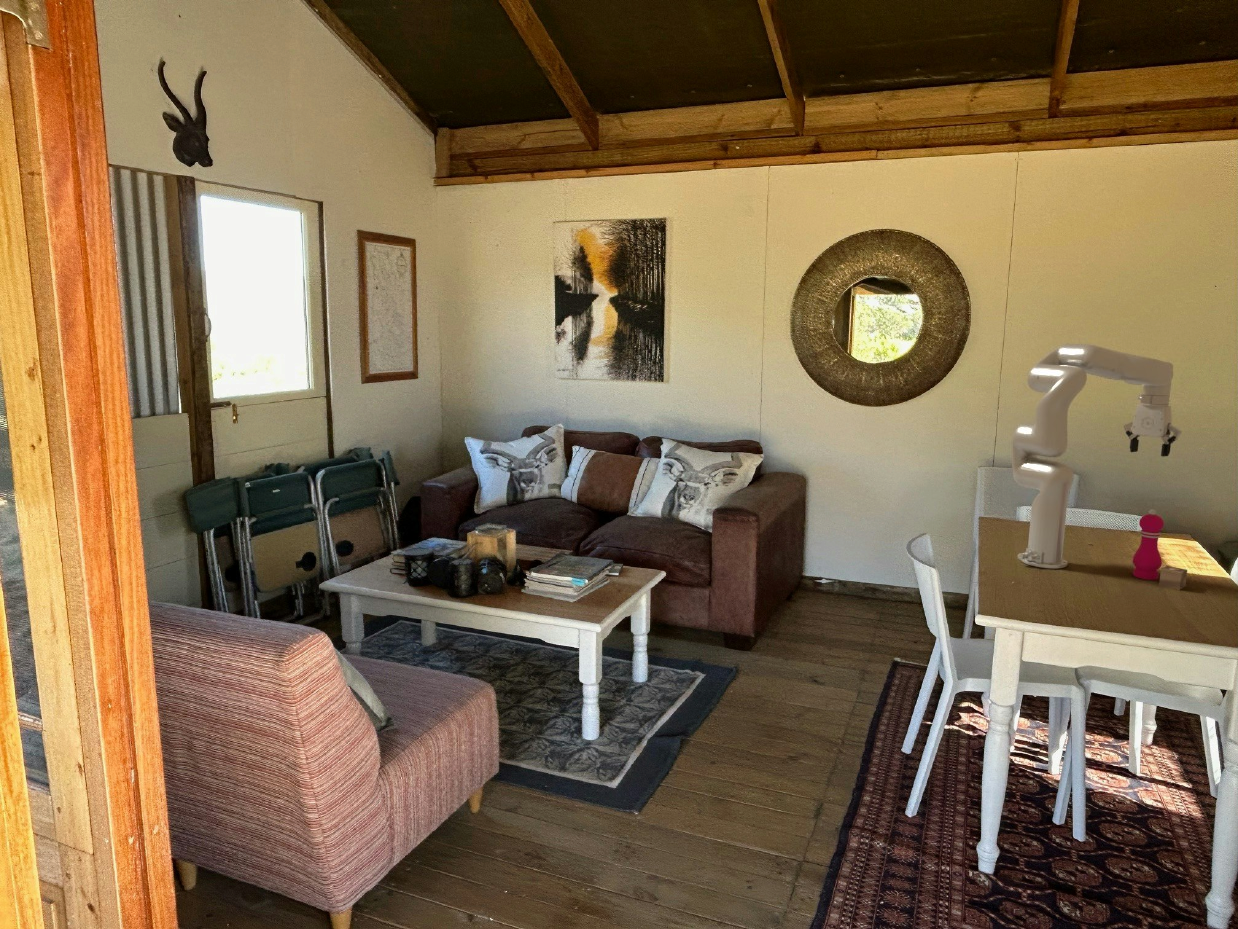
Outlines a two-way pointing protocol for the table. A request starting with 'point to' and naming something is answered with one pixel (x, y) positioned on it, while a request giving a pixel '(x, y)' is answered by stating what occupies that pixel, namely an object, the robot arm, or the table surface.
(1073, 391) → the robot arm
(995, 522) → the table surface
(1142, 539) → the pepper mill
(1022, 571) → the table surface
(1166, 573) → the walnut block
